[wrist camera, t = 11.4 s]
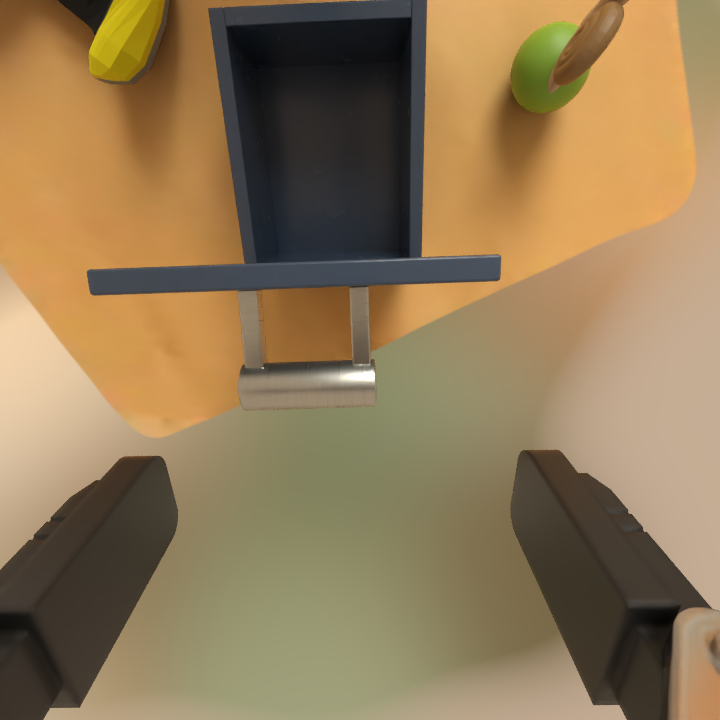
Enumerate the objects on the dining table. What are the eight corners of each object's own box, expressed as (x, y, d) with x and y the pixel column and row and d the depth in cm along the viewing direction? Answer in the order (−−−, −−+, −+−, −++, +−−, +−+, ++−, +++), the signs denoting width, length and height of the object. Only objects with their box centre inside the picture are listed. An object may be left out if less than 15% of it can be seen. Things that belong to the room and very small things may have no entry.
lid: (84, 269, 12) (113, 434, 13) (502, 253, 12) (496, 422, 13) (244, 274, 28) (251, 348, 29) (422, 268, 28) (422, 342, 29)
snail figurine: (591, 51, 31) (721, -33, 20) (539, 132, 33) (630, 97, 22) (537, 8, 30) (641, -105, 19) (487, 95, 32) (554, 39, 21)
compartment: (248, 58, 31) (207, 7, 23) (409, 51, 31) (427, -3, 23) (272, 261, 37) (246, 279, 29) (407, 256, 37) (421, 272, 29)
